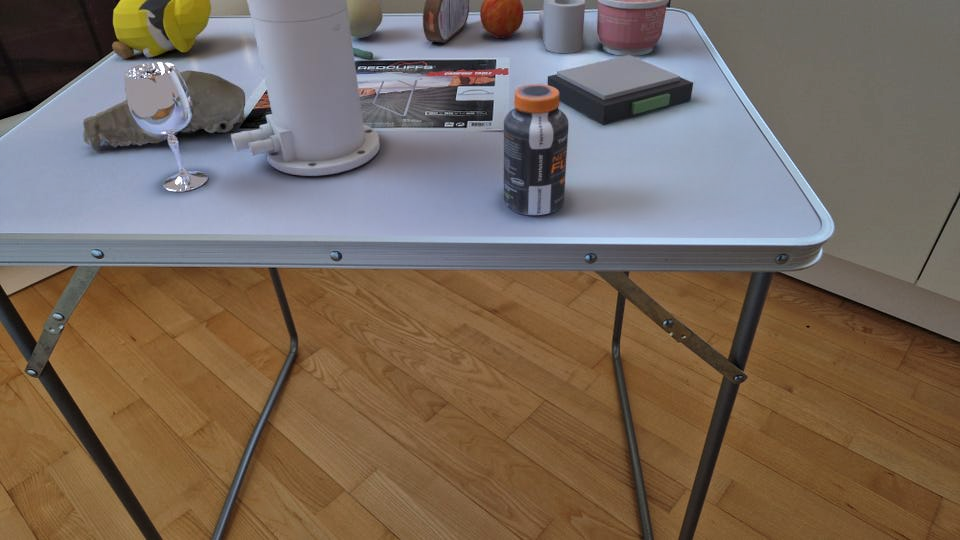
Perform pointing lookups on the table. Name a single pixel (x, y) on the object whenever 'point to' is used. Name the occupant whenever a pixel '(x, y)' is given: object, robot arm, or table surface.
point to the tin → (444, 18)
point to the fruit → (501, 16)
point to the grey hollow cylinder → (562, 25)
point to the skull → (211, 111)
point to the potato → (363, 17)
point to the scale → (619, 88)
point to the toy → (158, 25)
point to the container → (630, 25)
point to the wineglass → (163, 112)
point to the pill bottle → (535, 151)
